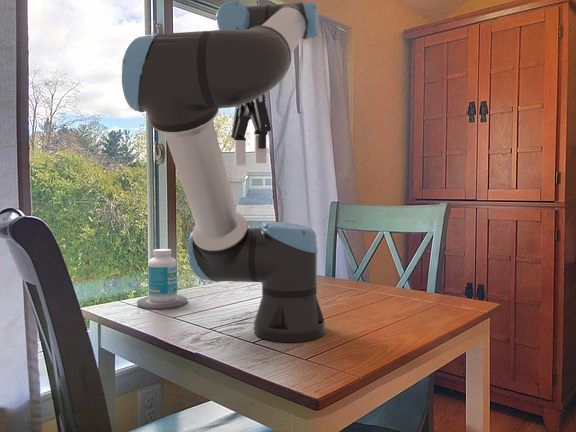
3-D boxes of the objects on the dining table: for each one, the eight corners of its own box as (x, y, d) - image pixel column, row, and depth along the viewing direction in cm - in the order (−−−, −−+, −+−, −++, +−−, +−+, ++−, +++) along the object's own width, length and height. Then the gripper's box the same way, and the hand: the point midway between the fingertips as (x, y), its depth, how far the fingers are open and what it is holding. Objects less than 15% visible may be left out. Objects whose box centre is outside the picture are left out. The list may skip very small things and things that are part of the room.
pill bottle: (173, 303, 125) (172, 251, 124) (144, 303, 125) (143, 251, 124) (180, 296, 132) (179, 247, 131) (153, 296, 132) (152, 247, 131)
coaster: (192, 305, 125) (192, 302, 125) (141, 311, 120) (141, 308, 120) (180, 295, 137) (180, 292, 137) (133, 300, 131) (133, 297, 131)
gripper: (285, 68, 110) (285, 162, 111) (245, 88, 132) (245, 166, 133) (254, 65, 106) (255, 161, 107) (218, 86, 128) (219, 165, 130)
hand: (249, 164), depth 120 cm, fingers open, 13 cm apart
